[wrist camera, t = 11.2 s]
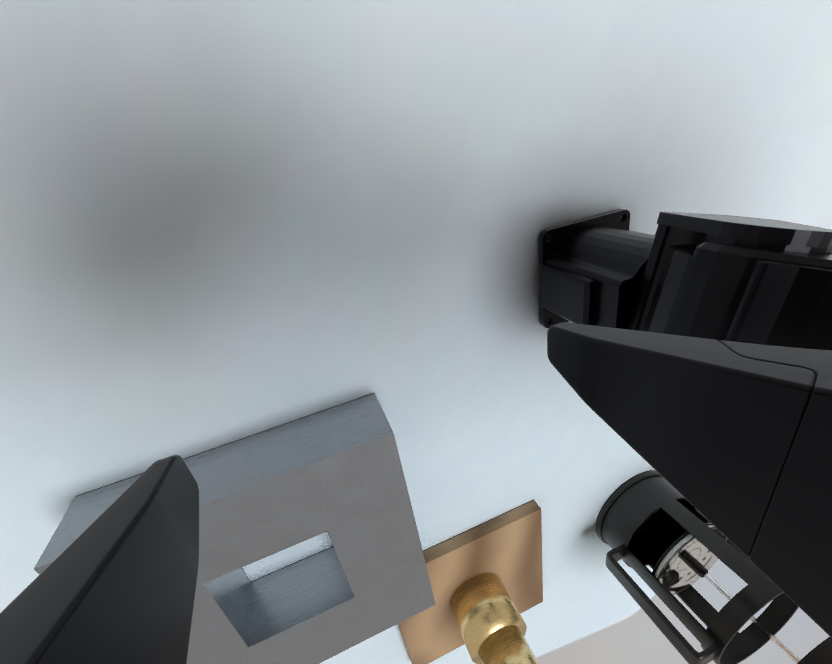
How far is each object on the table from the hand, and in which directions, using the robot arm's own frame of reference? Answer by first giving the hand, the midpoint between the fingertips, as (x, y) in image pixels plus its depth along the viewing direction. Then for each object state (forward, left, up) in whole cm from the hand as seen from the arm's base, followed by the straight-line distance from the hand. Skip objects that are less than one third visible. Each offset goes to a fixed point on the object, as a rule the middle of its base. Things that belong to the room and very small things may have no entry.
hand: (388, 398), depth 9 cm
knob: (-5, +31, -11) cm, 33 cm away
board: (-5, +31, -12) cm, 34 cm away
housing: (+7, +16, -12) cm, 21 cm away
